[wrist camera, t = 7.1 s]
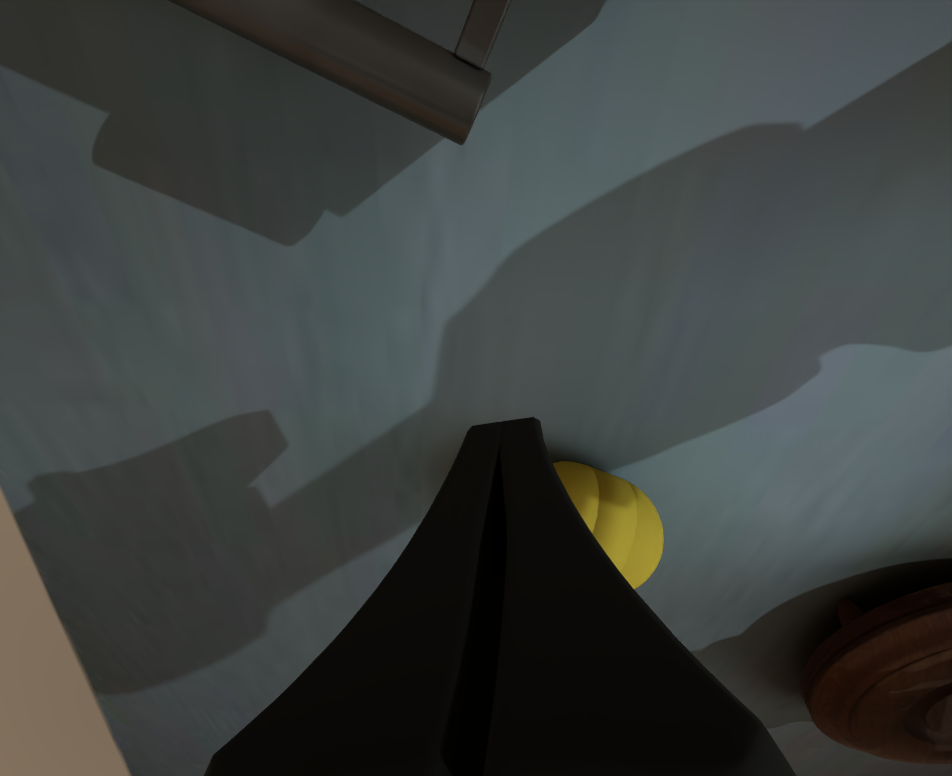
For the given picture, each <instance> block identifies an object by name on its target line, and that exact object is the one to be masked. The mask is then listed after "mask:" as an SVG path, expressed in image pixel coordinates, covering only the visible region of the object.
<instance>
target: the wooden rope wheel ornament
mask: <svg viewBox="0 0 952 776" xmlns="http://www.w3.org/2000/svg"><path fill="white" fill-rule="evenodd" d="M838 615H839V618H840V622H841V625H842V628H840V629H839V630H838V631H836V632H835V633H834V634H832V635H831V636H830V637H829V638H828V639H826V640H825V641H824V642H823V643H822V644H821V645H820V646H819V647H818V648H817V649H816V651H815V652H814V653H813V654H812V655H811V657H810V658H809V660H808V662H807V663H806V665H805V667H804V670H803V672H802V676H801V680H800V689H801V694H802V697H803V699H804V702H805V704H806V706H807V708H808V710H809V713H810V715H811V718H812V720H813V722H814V723H815V725H816V726H817V727H818V728H819V729H820V730H821V731H822V732H823V733H824V734H825V735H827V736H828V737H829V738H831V739H833V740H834V741H836V742H838V743H840V744H843V745H845V746H847V747H850V748H853V749H856V750H860V751H863V752H867V753H869V754H872V755H875V756H878V757H882V758H885V759H890V760H895V761H902V762H910V763H922V764H952V582H949V583H945V584H941V585H937V586H934V587H930V588H927V589H923V590H920V591H917V592H914V593H911V594H908V595H905V596H903V597H900V598H898V599H895V600H893V601H890V602H888V603H886V604H883V605H881V606H879V607H877V608H875V609H873V610H871V611H869V612H867V613H865V614H864V613H863V612H862V611H861V609H860V608H859V607H857V606H856V605H855V604H854V603H852V602H851V601H850V600H846V599H842V600H840V601H839V603H838Z"/></svg>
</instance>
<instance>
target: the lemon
mask: <svg viewBox="0 0 952 776" xmlns="http://www.w3.org/2000/svg"><path fill="white" fill-rule="evenodd" d="M553 465H554V467H555V469H556V472H557V474H558V476H559V477H560V479H561V481H562V483H563V485H564V487H565V489H566V491H567V493H568V495H569V496H570V498H571V500H572V502H573V503H574V505H575V507H576V508H577V510H578V512H579V513H580V515H581V517H582V518H583V520H584V521H585V523H586V524H587V526H588V528H589V529H590V531H591V532H592V534H593V535H594V537H595V538H596V540H597V541H598V543H599V544H600V545H601V547H602V548H603V550H604V551H605V552H606V554H607V555H608V556H609V558H610V559H611V561H612V562H613V563H614V565H615V566H616V567H617V569H618V570H619V571H620V572H621V574H622V575H623V576H624V577H625V579H626V580H627V581H628V583H629V584H630V585H631V586H632V588H633V589H635V588H637V587H639V586H640V585H642V584H643V583H644V582H645V581H646V580H647V579H648V578H649V577H650V576H651V574H652V573H653V572H654V570H655V569H656V567H657V565H658V563H659V561H660V558H661V555H662V551H663V543H664V538H663V527H662V522H661V520H660V517H659V515H658V512H657V510H656V508H655V506H654V505H653V503H652V502H651V501H650V499H649V498H648V497H647V496H646V494H645V493H643V492H642V491H641V490H640V489H638V488H637V487H636V486H635V485H633V484H631V483H630V482H628V481H626V480H624V479H621V478H619V477H616V476H614V475H611V474H608V473H606V472H603V471H601V470H598V469H595V468H593V467H590V466H588V465H584V464H580V463H576V462H568V461H561V462H555V463H553Z"/></svg>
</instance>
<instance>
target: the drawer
mask: <svg viewBox="0 0 952 776" xmlns="http://www.w3.org/2000/svg"><path fill="white" fill-rule="evenodd" d="M168 1H170V2H172V3H174V4H176V5H178V6H180V7H182V8H184V9H187V10H189V11H191V12H193V13H195V14H197V15H199V16H201V17H203V18H205V19H207V20H209V21H211V22H213V23H215V24H217V25H219V26H221V27H223V28H225V29H227V30H229V31H231V32H233V33H235V34H237V35H239V36H241V37H243V38H245V39H247V40H249V41H251V42H253V43H255V44H257V45H259V46H261V47H263V48H265V49H267V50H269V51H271V52H273V53H275V54H277V55H279V56H282V57H284V58H286V59H288V60H290V61H292V62H294V63H296V64H298V65H300V66H302V67H304V68H306V69H308V70H310V71H312V72H314V73H316V74H318V75H320V76H322V77H324V78H326V79H328V80H330V81H332V82H334V83H336V84H338V85H340V86H342V87H344V88H346V89H348V90H350V91H352V92H354V93H356V94H358V95H360V96H362V97H364V98H366V99H368V100H370V101H372V102H374V103H376V104H379V105H381V106H383V107H385V108H387V109H389V110H391V111H393V112H395V113H397V114H399V115H401V116H403V117H405V118H407V119H409V120H411V121H413V122H415V123H417V124H419V125H421V126H423V127H425V128H427V129H429V130H431V131H433V132H435V133H437V134H439V135H441V136H443V137H445V138H447V139H449V140H451V141H453V142H455V143H457V144H459V145H463V144H464V143H465V141H466V139H467V137H468V134H469V132H470V130H471V128H472V125H473V123H474V120H475V118H476V116H477V113H478V111H479V108H480V106H481V104H482V101H483V99H484V96H485V94H486V91H487V88H488V86H489V83H490V80H491V73H490V72H488V71H486V70H484V69H483V68H484V66H485V64H486V62H487V59H488V57H489V54H490V52H491V49H492V47H493V44H494V42H495V39H496V37H497V34H498V32H499V30H500V27H501V25H502V22H503V20H504V17H505V15H506V12H507V10H508V7H509V5H510V2H511V0H474V1H473V3H472V6H471V9H470V11H469V14H468V17H467V19H466V22H465V25H464V27H463V30H462V33H461V35H460V38H459V41H458V43H457V46H456V49H455V54H454V53H452V52H450V51H448V50H447V49H445V48H443V47H441V46H439V45H437V44H435V43H433V42H432V41H430V40H428V39H426V38H424V37H422V36H420V35H418V34H416V33H415V32H413V31H411V30H409V29H407V28H405V27H403V26H401V25H399V24H398V23H396V22H394V21H392V20H390V19H388V18H386V17H384V16H382V15H381V14H379V13H377V12H375V11H373V10H371V9H369V8H367V7H366V6H364V5H362V4H360V3H358V2H356V1H354V0H168Z"/></svg>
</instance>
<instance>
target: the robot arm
mask: <svg viewBox="0 0 952 776" xmlns="http://www.w3.org/2000/svg"><path fill="white" fill-rule="evenodd" d="M204 776H796V775H795V773H794V771H793V770H792V768H791V766H790V765H789V763H788V762H787V760H786V758H785V757H784V755H783V754H782V752H781V751H780V749H779V748H778V746H777V745H776V743H775V742H774V740H773V738H772V737H771V735H770V734H769V732H768V731H767V729H766V728H765V726H764V725H763V723H762V722H761V721H760V720H759V719H758V718H757V717H756V716H755V715H754V714H753V713H752V712H751V711H750V710H749V709H748V708H747V707H746V706H745V705H743V704H742V703H741V702H740V701H739V700H738V699H737V698H736V697H735V696H734V695H733V694H732V693H731V692H730V691H729V690H728V689H727V688H726V687H724V686H723V685H722V684H721V683H720V682H719V681H718V680H717V679H716V678H715V677H714V676H713V675H712V674H711V673H710V672H709V671H708V670H707V669H706V668H705V667H704V666H703V665H702V664H701V663H700V662H699V661H698V660H697V659H696V658H695V657H694V656H693V655H692V654H691V652H690V651H689V650H688V649H687V648H686V647H685V646H684V645H683V644H682V643H681V642H680V641H679V640H678V639H677V638H676V637H675V636H674V635H673V634H672V632H671V631H670V630H669V629H668V628H667V627H666V626H665V624H664V623H663V622H662V621H661V620H660V619H659V618H658V616H657V615H656V614H655V613H654V612H653V611H652V610H651V609H650V607H649V606H648V605H647V604H646V603H645V602H644V601H643V599H642V598H641V597H640V596H639V595H638V594H637V593H636V591H635V590H634V589H633V588H632V586H631V585H630V584H629V583H628V581H627V580H626V579H625V577H624V576H623V575H622V574H621V572H620V571H619V570H618V569H617V567H616V566H615V565H614V563H613V562H612V561H611V559H610V558H609V556H608V555H607V554H606V552H605V551H604V550H603V548H602V547H601V545H600V544H599V543H598V541H597V540H596V538H595V537H594V535H593V534H592V532H591V531H590V529H589V528H588V526H587V524H586V523H585V521H584V520H583V518H582V517H581V515H580V513H579V512H578V510H577V508H576V507H575V505H574V503H573V502H572V500H571V498H570V496H569V495H568V493H567V491H566V489H565V487H564V485H563V483H562V481H561V479H560V477H559V476H558V474H557V472H556V469H555V467H554V465H553V463H552V461H551V458H550V456H549V453H548V451H547V448H546V446H545V443H544V438H543V433H542V428H541V423H540V421H539V420H538V419H536V418H534V417H530V418H523V419H516V420H509V421H502V422H496V423H489V424H482V425H475V426H472V427H471V428H470V429H469V430H468V432H467V434H466V437H465V439H464V441H463V444H462V446H461V448H460V450H459V453H458V455H457V457H456V459H455V461H454V463H453V465H452V467H451V469H450V471H449V473H448V475H447V477H446V479H445V481H444V483H443V485H442V487H441V489H440V491H439V492H438V494H437V496H436V498H435V500H434V502H433V504H432V505H431V507H430V509H429V511H428V512H427V514H426V516H425V517H424V519H423V521H422V522H421V524H420V525H419V527H418V529H417V530H416V532H415V534H414V535H413V537H412V538H411V540H410V542H409V543H408V545H407V546H406V548H405V549H404V551H403V552H402V554H401V555H400V557H399V558H398V560H397V561H396V563H395V564H394V565H393V567H392V568H391V570H390V571H389V572H388V574H387V575H386V576H385V578H384V579H383V581H382V582H381V583H380V585H379V586H378V587H377V589H376V590H375V591H374V592H373V594H372V595H371V596H370V597H369V599H368V600H367V601H366V602H365V604H364V605H363V606H362V607H361V608H360V610H359V611H358V612H357V613H356V615H355V616H354V617H353V618H352V620H351V621H350V622H349V623H348V624H347V625H346V627H345V628H344V629H343V630H342V631H341V632H340V633H339V635H338V636H337V637H336V638H335V639H334V640H333V641H332V642H331V643H330V644H329V646H328V647H327V648H326V649H325V650H324V651H323V652H322V653H321V654H320V655H319V656H318V657H317V658H316V659H315V660H314V661H313V662H312V663H311V664H310V665H309V666H308V668H307V669H306V670H305V671H304V672H303V673H302V674H301V675H300V676H299V677H298V678H297V679H296V680H295V681H294V682H293V683H292V684H291V685H290V686H289V687H288V688H287V689H286V690H285V691H284V692H283V693H282V694H281V695H280V696H279V697H278V698H277V699H276V700H275V701H274V702H272V703H271V704H270V705H269V706H268V707H267V708H266V709H265V710H264V711H262V712H261V713H260V714H259V715H258V716H257V717H256V718H255V719H254V720H252V721H251V722H250V723H249V724H248V725H247V726H246V727H245V728H244V729H242V730H241V731H240V732H239V733H238V734H237V735H236V736H235V737H234V738H232V739H231V740H230V741H229V742H228V743H227V744H226V745H224V746H223V747H222V748H221V749H220V750H219V751H217V752H216V753H215V754H214V755H213V757H212V759H211V761H210V764H209V766H208V768H207V770H206V772H205V774H204Z"/></svg>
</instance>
